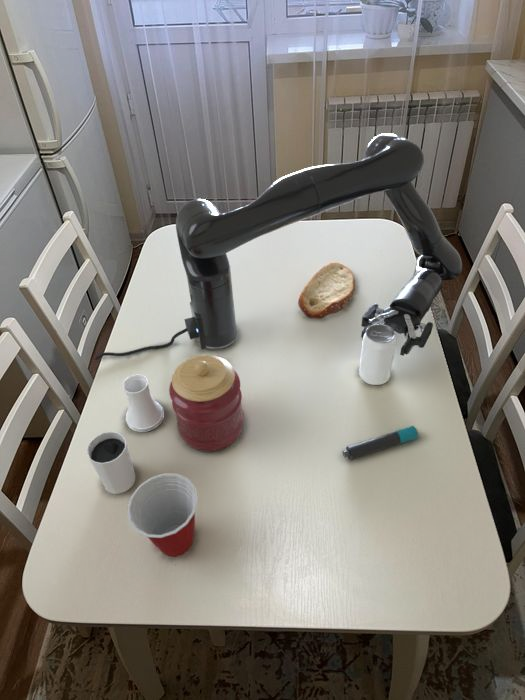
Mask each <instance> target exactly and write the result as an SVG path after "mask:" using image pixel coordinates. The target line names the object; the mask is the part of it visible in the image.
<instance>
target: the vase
mask: <svg viewBox="0 0 525 700" xmlns="http://www.w3.org/2000/svg"><path fill="white" fill-rule="evenodd" d="M122 389H123V391H124V393H125V395H126V398H127V403H128V409H127V411H126V412H125V422H126V425H127V426H128V428H129V429H130V430H132V431H134V432H138V433H147V432H150V431H153V430H155V429H157V428H158V427H159V426H160V425H161V424H162V422H163V421H164V418H165V411H164V407H163V406H162V405H161V403H159V402H158V401H156V400H155V399H154V397H153V396H152V394H151V390H150V387H149V379H148V378H147V376H145V375H143V374H138V373H137V374H132V375H129V376H128V377H126V378H125V379H124V380H123V382H122Z"/></svg>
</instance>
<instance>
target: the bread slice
mask: <svg viewBox="0 0 525 700" xmlns="http://www.w3.org/2000/svg"><path fill="white" fill-rule="evenodd" d="M355 281H356V280H355V275H354V274H353V271H352V270H351V269H350V268H349V267H347V266H346V265H345V264H343V263H340V262H336V261H335V262H334V261H331V262H328V263H327V264H325V265H324V266H323V267H321V269H319V270H318V271H317V272H316V273H315V274H314V275H313V276H312V277H311V279H309V281H308V282H307V283H306V284H305V286H303V289H302V291H301V293H300V294H299V297H298V299H297V304H298V307H299V309H300V310H301V312H302V313H303V314H304V315H305V316H306V318H308V319H316V320H317V319H318V320H319V319H320V320H321V319H324V318H325V317H327V316H329V315H332V314H336V313H338V312H340V311H342V310H343V309H345V308H346V306H347V305H348V304H349V303H350V301H351V300H352V299H353V297H354V293H355V291H356V282H355Z"/></svg>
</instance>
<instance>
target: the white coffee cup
mask: <svg viewBox="0 0 525 700" xmlns="http://www.w3.org/2000/svg"><path fill="white" fill-rule="evenodd" d="M86 455H87V457H88V459H89V460H90V463H91V464H92V467H93V468H94V471H95V472H96V474H97V476H98V477H99V479H100V482H101V483H102V485H103V487H104V489H105V491H107V492H108V493H110V494H113V495H118V494H124V493H125V492H127V491H129V490H130V489H131V488H132V487H133V486H134V484H135V481H136V472H135V468H134V465H133V461H132V458H131V453H130V450H129V447H128V444H127V440H126V438H125V436H124V435H122V434H121V433H119V432H116V431H106V432H101V433H99V434H97V435H95V437H93V438H92V439H91V440H90V442H89V443H88V444H87V447H86Z"/></svg>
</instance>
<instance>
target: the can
mask: <svg viewBox="0 0 525 700" xmlns="http://www.w3.org/2000/svg"><path fill="white" fill-rule="evenodd" d="M396 345H397V338H396V332H395V331H394V330H393V329H392V328H391V327H389V326H387V325H384V323H383V324H377V323H376V324H374V325H371V326H369V327H368V328H367V330H366V332H365V334H364V336H363V340H362V344H361V352H360V360H359V370H358V374H359V377H360V379H361V380H362V381H363V382H364V383H366V384H367V385H372V386H380V385H383V384H386V383H387V382H388V381H389V380H390V378H391V374H392V373H391V372H392V368H393V362H394V356H395V349H396Z"/></svg>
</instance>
